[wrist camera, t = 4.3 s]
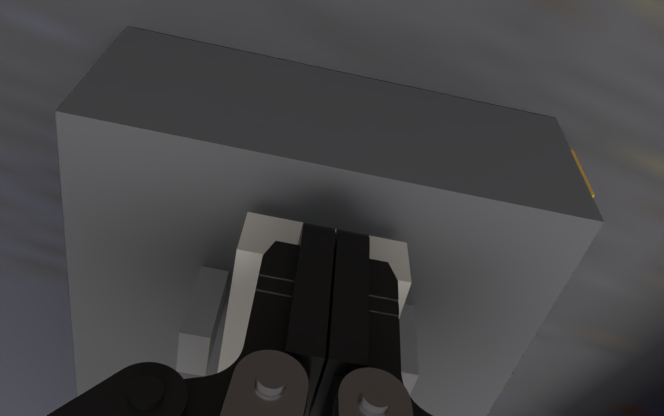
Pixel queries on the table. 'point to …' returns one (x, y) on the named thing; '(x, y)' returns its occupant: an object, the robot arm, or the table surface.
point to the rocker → (247, 266)
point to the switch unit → (308, 207)
